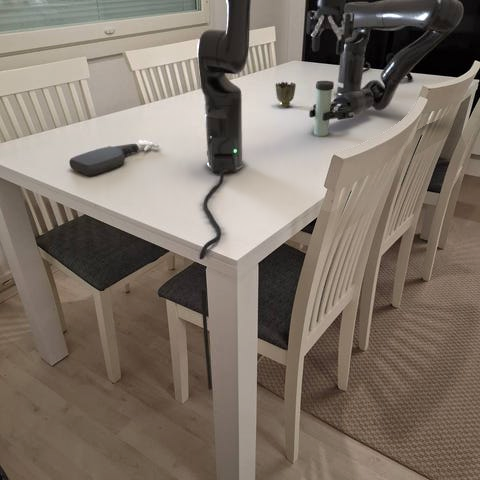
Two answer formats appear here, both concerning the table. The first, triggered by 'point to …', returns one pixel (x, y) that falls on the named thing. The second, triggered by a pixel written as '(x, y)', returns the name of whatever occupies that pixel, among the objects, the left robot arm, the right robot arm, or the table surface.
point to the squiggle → (392, 58)
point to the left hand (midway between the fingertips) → (327, 52)
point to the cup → (285, 93)
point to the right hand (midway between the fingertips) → (317, 115)
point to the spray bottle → (106, 157)
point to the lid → (324, 85)
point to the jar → (322, 112)
